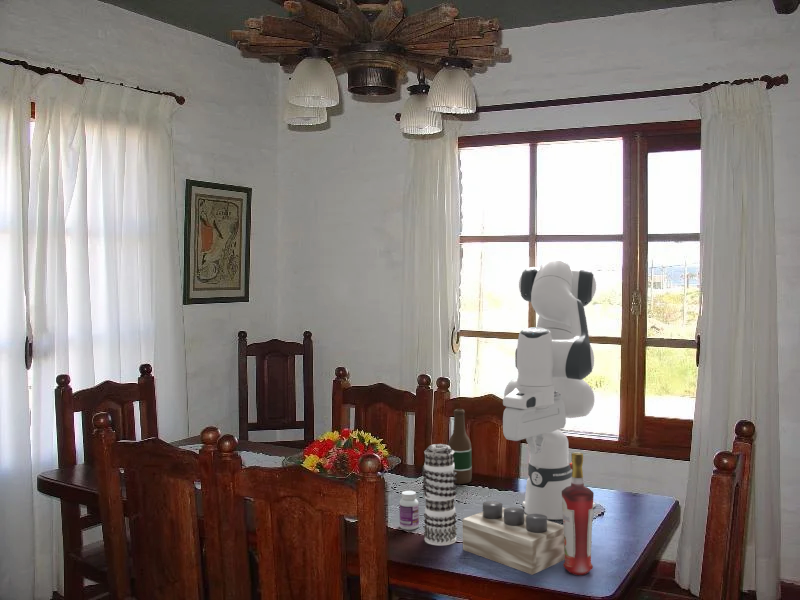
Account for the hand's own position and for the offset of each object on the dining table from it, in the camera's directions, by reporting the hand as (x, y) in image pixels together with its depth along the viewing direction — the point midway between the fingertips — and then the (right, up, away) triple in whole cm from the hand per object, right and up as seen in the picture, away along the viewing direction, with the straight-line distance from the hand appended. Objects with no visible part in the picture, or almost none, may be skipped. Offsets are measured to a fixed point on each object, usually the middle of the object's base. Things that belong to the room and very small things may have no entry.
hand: (535, 452), depth 186 cm
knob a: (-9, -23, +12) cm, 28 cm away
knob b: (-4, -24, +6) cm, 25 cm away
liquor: (+9, -27, -5) cm, 29 cm away
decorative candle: (-22, -27, +17) cm, 39 cm away
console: (-4, -27, +7) cm, 28 cm away
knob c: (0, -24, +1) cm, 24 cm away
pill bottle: (-30, -26, +28) cm, 49 cm away
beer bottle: (-13, -24, +71) cm, 76 cm away
